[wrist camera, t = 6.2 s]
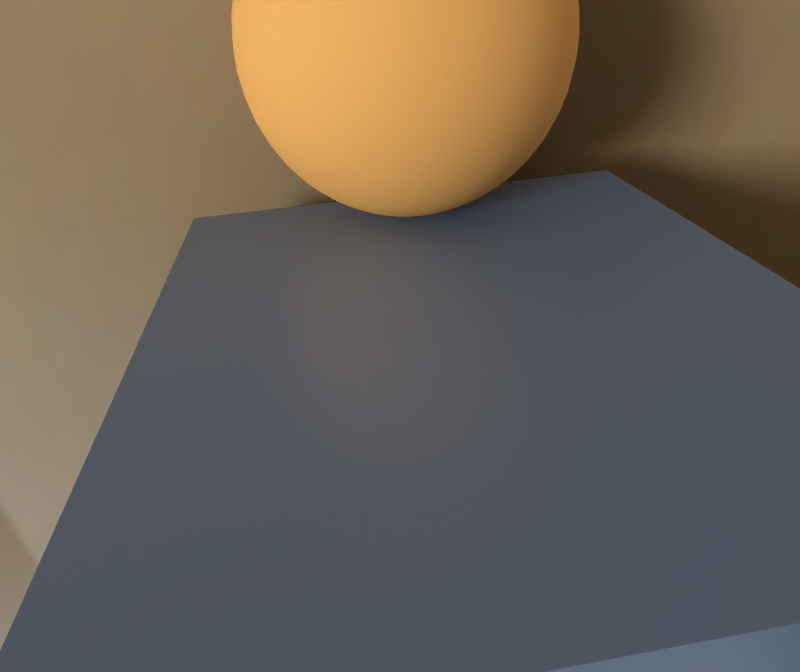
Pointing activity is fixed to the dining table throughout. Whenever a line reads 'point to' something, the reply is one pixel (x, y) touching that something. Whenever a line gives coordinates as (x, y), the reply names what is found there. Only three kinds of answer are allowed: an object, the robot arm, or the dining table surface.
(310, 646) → the matte slate cube
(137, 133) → the dining table surface
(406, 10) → the ball
